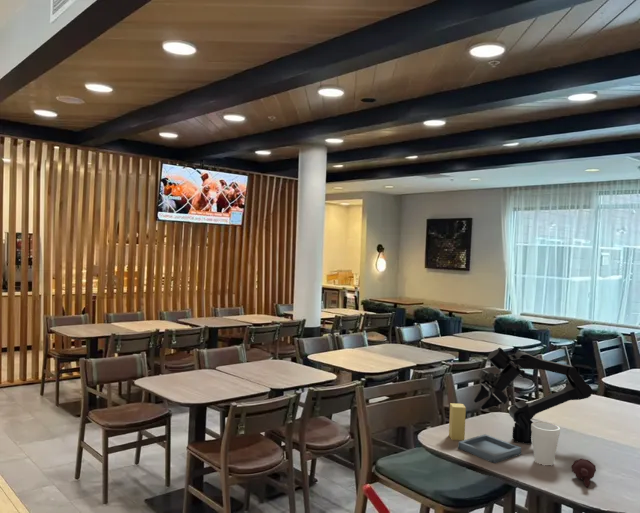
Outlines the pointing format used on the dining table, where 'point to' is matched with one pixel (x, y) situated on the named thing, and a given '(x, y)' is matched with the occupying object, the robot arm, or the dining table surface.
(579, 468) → the icecream
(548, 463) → the foam cup
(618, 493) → the dining table surface
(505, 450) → the tray
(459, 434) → the block
